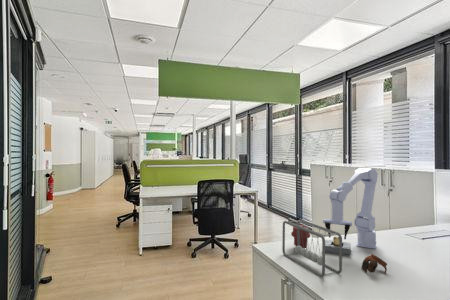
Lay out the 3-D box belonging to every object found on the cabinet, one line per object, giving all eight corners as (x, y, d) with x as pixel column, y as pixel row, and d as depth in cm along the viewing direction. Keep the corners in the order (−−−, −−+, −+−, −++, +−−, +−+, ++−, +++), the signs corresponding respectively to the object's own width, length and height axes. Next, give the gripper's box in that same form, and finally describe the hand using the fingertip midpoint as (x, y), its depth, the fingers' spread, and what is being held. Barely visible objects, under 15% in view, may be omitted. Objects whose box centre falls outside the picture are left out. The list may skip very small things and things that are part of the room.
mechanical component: (290, 244, 159) (308, 245, 158) (292, 250, 149) (311, 251, 148) (290, 222, 159) (308, 223, 158) (292, 227, 149) (311, 228, 148)
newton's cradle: (281, 254, 144) (282, 220, 144) (298, 251, 148) (298, 218, 148) (323, 279, 116) (323, 236, 116) (342, 275, 120) (342, 233, 120)
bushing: (341, 250, 151) (341, 237, 151) (341, 252, 147) (341, 239, 148) (333, 248, 153) (333, 236, 153) (333, 251, 149) (333, 238, 149)
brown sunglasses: (360, 266, 131) (369, 251, 131) (380, 280, 126) (390, 264, 126) (358, 268, 121) (368, 252, 121) (380, 283, 116) (390, 267, 116)
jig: (350, 249, 152) (350, 243, 152) (350, 256, 142) (350, 249, 142) (325, 245, 158) (325, 239, 158) (323, 252, 148) (323, 245, 148)
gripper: (322, 212, 150) (322, 238, 150) (352, 215, 143) (352, 242, 143) (323, 210, 156) (323, 234, 156) (352, 212, 150) (352, 238, 150)
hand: (337, 237), depth 150 cm, fingers open, 7 cm apart
